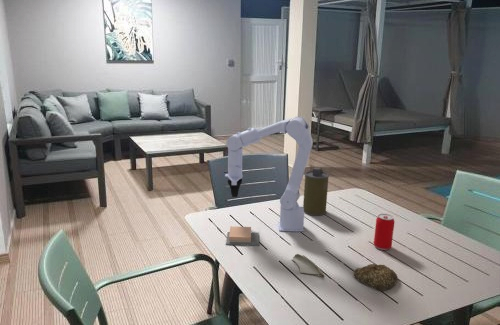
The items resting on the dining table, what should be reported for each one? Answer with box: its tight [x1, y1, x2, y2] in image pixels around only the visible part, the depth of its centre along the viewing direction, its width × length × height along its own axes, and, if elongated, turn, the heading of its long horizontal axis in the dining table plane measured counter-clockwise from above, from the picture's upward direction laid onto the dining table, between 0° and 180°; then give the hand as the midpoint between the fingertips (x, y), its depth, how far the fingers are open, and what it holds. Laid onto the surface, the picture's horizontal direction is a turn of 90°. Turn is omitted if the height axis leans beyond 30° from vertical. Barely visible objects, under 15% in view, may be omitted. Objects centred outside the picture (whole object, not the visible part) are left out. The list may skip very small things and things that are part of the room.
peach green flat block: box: [229, 226, 252, 242], centre depth 150 cm, size 8×2×9 cm
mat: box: [225, 231, 260, 246], centre depth 150 cm, size 12×10×1 cm
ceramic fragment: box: [290, 253, 325, 277], centre depth 129 cm, size 14×5×4 cm, turn 34°
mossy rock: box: [352, 263, 398, 292], centre depth 125 cm, size 13×12×5 cm
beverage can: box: [373, 213, 395, 251], centre depth 144 cm, size 6×6×12 cm
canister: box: [302, 166, 330, 217], centre depth 175 cm, size 11×10×20 cm
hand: (234, 196), depth 164 cm, fingers closed
